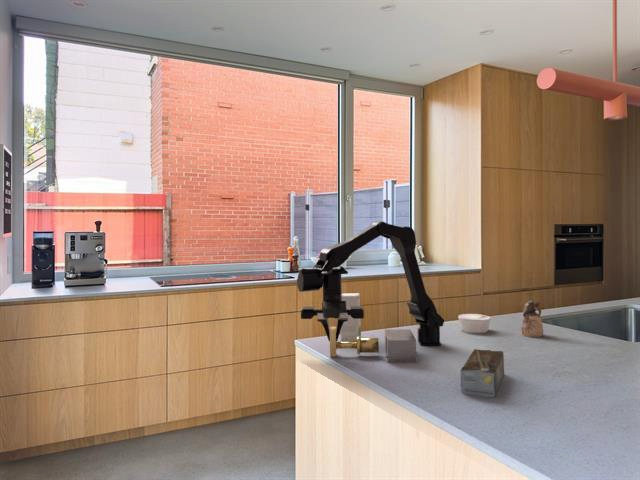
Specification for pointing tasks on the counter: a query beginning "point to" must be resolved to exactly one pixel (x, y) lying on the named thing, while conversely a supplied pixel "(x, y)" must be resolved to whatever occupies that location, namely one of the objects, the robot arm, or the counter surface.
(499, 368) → the beverage carton
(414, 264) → the robot arm
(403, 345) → the housing
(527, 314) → the figurine
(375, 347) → the brass door handle
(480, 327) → the ramekin
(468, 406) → the counter surface
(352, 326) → the skincare box
